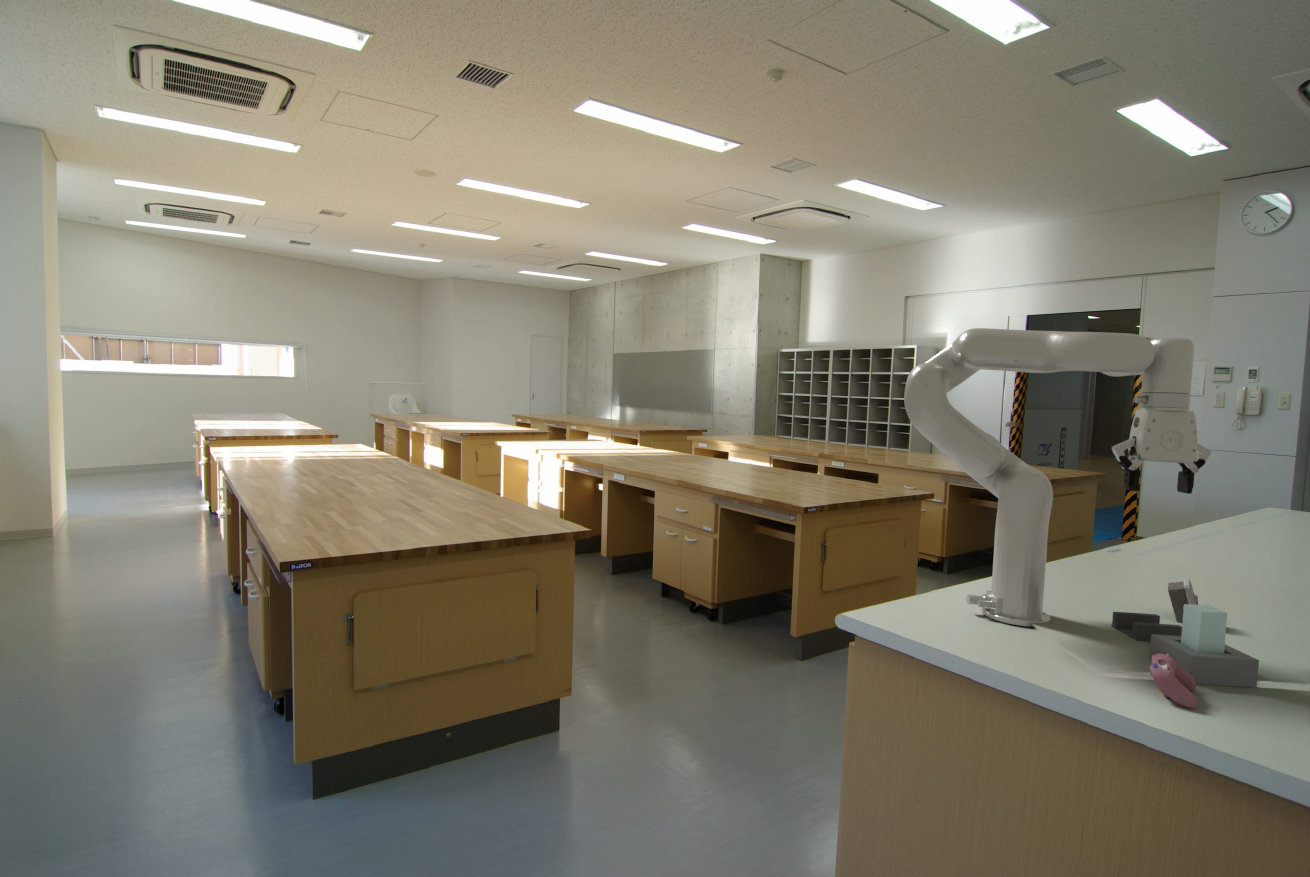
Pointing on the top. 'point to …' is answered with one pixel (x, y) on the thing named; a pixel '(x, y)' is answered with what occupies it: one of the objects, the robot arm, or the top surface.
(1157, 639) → the port
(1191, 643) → the plug
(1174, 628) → the dark grey flanged block
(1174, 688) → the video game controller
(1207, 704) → the top surface
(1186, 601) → the electrical switch
